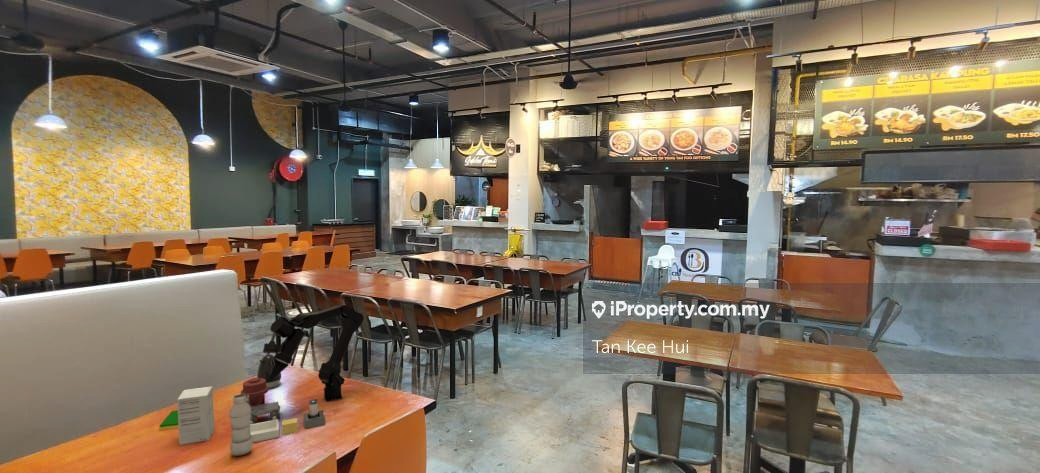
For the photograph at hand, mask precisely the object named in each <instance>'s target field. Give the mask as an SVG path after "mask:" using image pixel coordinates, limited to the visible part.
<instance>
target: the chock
mask: <svg viewBox="0 0 1040 473" xmlns="http://www.w3.org/2000/svg"><path fill="white" fill-rule="evenodd" d="M281 425H282V426H281V428H282V429H281V430H282V436H286V435H290V434H292V435H293V434H296V433H298V418H297V417H295V418H288V419H285V420H281Z"/></svg>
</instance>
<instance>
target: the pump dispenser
mask: <svg viewBox="0 0 1040 473" xmlns="http://www.w3.org/2000/svg"><path fill="white" fill-rule="evenodd" d="M274 356H275V355H273V354H271V353H270V354H266V355H264V356H263V357H262V358H261V359H260V360H259V365H258V368H257V372H256V373H257V374H256V378H263V379H265V380H266V385H267V386H268V389H273V388H275V387H276V386H278V385H279V383H280V382H281V379H282V372H281V373H279V374H278V375H277V376H276V377H275V378H274V379H273V380H271V381H268V377H269V375H270V372H271V369H272V364H271V360H272V358H273V357H274Z"/></svg>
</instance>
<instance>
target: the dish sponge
mask: <svg viewBox="0 0 1040 473" xmlns="http://www.w3.org/2000/svg"><path fill="white" fill-rule="evenodd" d="M176 429H179V425H178V409H177V410H176V409H175V410H171V411H170V412H169V413H168V414H167V416H166V417H165V418H164V420H163V421H162V422H161V423H160V424H159V431H160V432H161V431H167V430H176Z"/></svg>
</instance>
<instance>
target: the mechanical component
mask: <svg viewBox="0 0 1040 473" xmlns="http://www.w3.org/2000/svg"><path fill="white" fill-rule="evenodd" d="M268 392H269V388H268V386H267V385H266V380H265V379H263V378H257V377H251V378H250V379H248V380H246V381H244V382H243V383H242V389H241V391H240V394H245V395H246V397H247V395H249V405H250V407H251V406H257V405H262V404H266V400H265V399H266V397H265V396H266V395H265V394H267V393H268Z"/></svg>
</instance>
